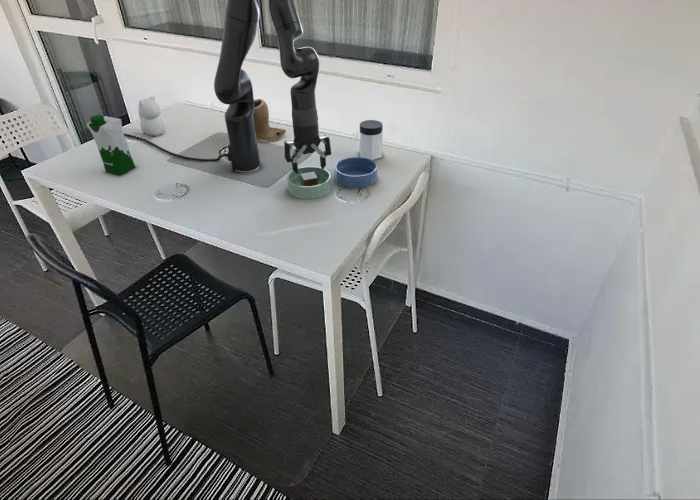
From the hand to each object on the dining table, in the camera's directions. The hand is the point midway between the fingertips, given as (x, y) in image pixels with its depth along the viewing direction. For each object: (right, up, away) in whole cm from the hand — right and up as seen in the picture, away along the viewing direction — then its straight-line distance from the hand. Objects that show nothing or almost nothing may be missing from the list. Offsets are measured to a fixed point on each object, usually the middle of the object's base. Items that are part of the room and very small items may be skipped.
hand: (309, 170), depth 144 cm
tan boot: (-22, +20, +39) cm, 49 cm away
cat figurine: (-69, +23, +44) cm, 85 cm away
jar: (+21, +10, +24) cm, 33 cm away
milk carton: (-69, +3, +18) cm, 71 cm away
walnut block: (0, -5, +4) cm, 7 cm away
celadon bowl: (0, -6, +4) cm, 7 cm away
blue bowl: (+15, -2, +9) cm, 18 cm away
